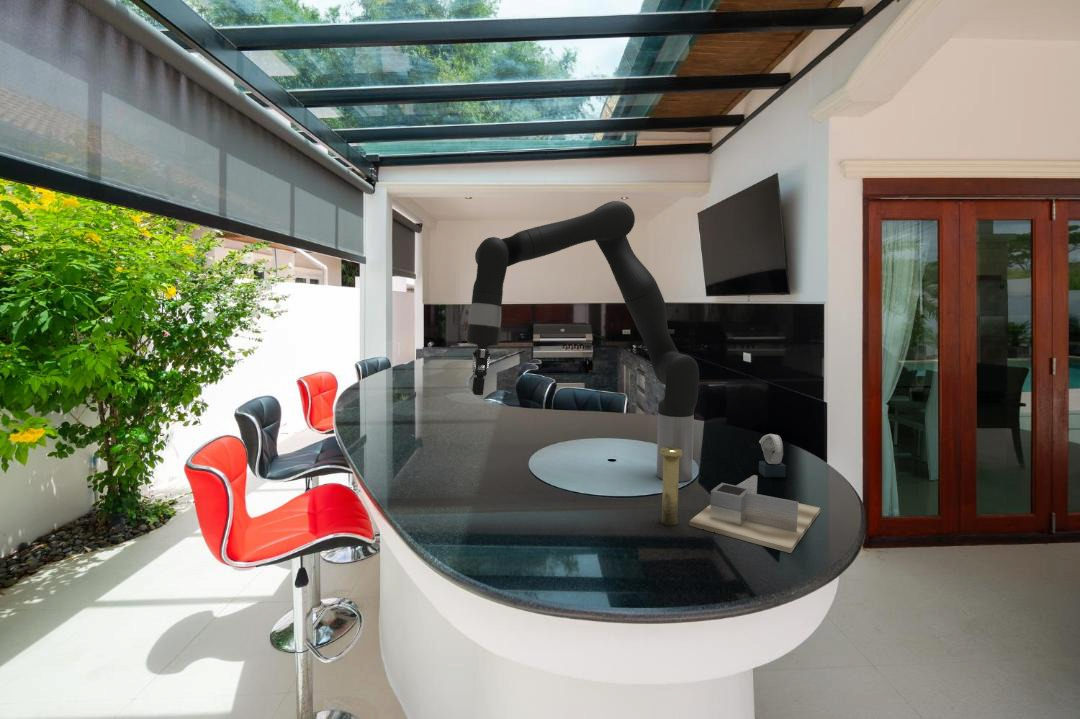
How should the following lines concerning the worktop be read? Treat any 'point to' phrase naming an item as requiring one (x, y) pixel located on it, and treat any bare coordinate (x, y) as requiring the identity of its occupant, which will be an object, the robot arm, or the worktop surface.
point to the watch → (772, 457)
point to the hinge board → (760, 529)
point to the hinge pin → (670, 484)
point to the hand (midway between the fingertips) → (477, 393)
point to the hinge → (752, 506)
